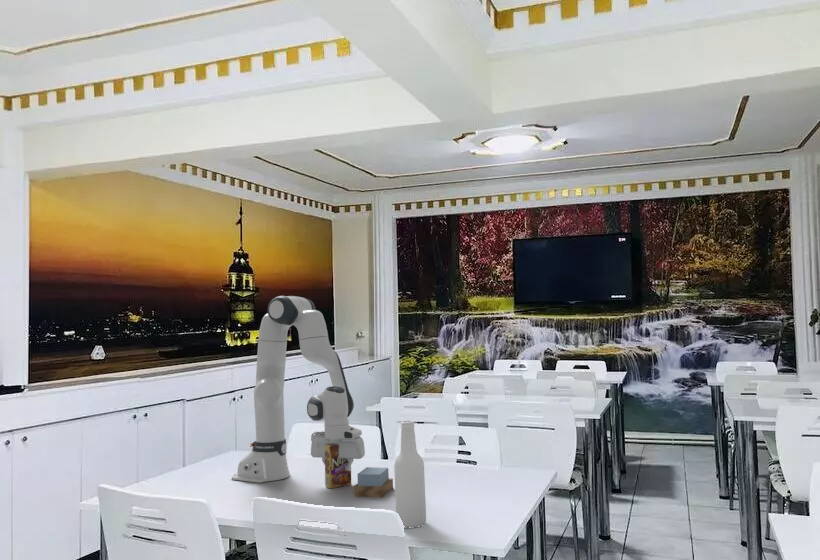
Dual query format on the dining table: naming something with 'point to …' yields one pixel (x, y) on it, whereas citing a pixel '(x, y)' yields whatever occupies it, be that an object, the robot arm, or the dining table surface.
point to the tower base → (373, 490)
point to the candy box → (335, 468)
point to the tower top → (373, 476)
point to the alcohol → (410, 480)
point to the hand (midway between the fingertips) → (338, 470)
